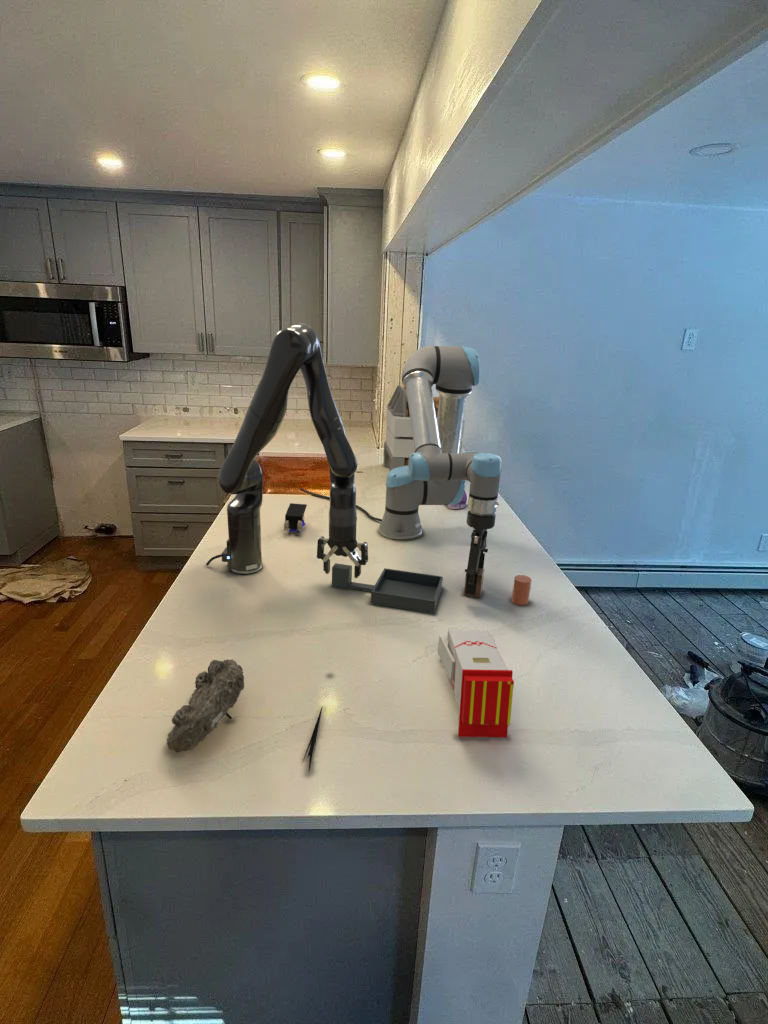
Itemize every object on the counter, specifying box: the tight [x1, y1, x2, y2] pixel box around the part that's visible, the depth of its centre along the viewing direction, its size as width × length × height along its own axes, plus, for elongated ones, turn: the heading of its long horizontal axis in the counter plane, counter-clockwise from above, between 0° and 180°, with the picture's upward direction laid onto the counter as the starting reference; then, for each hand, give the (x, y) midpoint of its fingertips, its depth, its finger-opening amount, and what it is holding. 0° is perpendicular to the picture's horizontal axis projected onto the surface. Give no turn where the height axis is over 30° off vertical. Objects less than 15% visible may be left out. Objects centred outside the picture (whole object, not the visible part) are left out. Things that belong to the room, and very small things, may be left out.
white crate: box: [383, 384, 465, 471], centre depth 268 cm, size 34×33×41 cm
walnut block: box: [463, 568, 485, 599], centre depth 159 cm, size 4×4×7 cm
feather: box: [301, 673, 332, 771], centre depth 108 cm, size 2×28×2 cm
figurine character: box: [283, 502, 308, 536], centre depth 198 cm, size 7×8×15 cm
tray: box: [331, 562, 444, 614], centre depth 158 cm, size 30×15×6 cm, turn 77°
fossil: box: [166, 658, 245, 754], centre depth 106 cm, size 22×10×15 cm
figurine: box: [447, 490, 468, 510], centre depth 228 cm, size 9×10×15 cm
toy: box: [437, 628, 515, 738], centre depth 117 cm, size 12×13×30 cm
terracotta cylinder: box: [511, 574, 533, 606], centre depth 156 cm, size 5×5×7 cm
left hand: (342, 574), depth 159 cm, fingers open, 8 cm apart
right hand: (474, 583), depth 159 cm, fingers open, 13 cm apart
